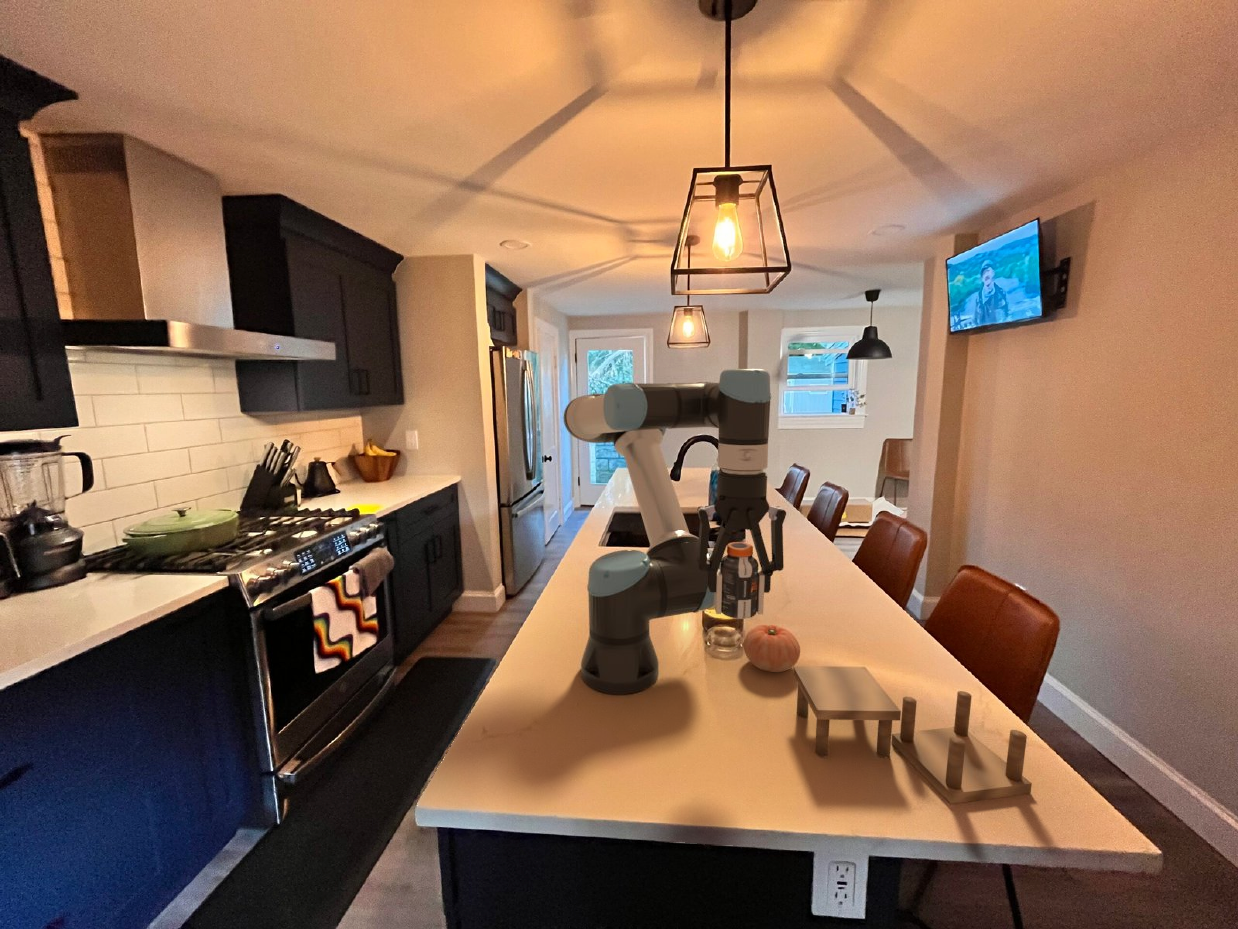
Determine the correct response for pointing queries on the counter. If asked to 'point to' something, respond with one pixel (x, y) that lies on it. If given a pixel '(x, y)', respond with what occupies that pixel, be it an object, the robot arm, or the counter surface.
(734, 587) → the pill bottle
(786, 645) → the mini pumpkin
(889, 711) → the stool
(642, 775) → the counter surface
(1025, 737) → the upturned stool
